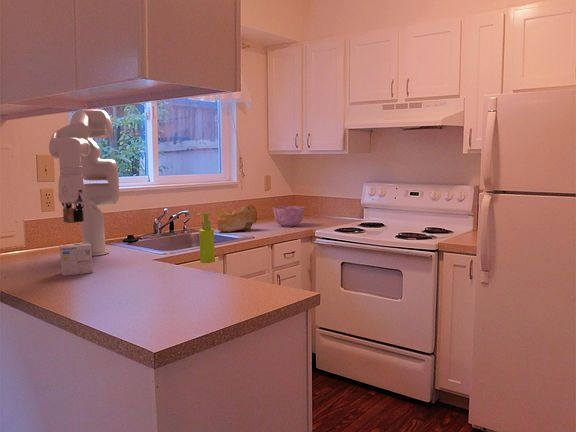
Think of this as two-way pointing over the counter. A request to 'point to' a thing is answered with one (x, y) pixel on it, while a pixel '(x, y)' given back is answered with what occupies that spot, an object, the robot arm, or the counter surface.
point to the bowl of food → (288, 215)
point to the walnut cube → (70, 215)
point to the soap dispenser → (206, 241)
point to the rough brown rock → (236, 219)
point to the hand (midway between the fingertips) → (73, 220)
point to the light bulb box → (76, 259)
